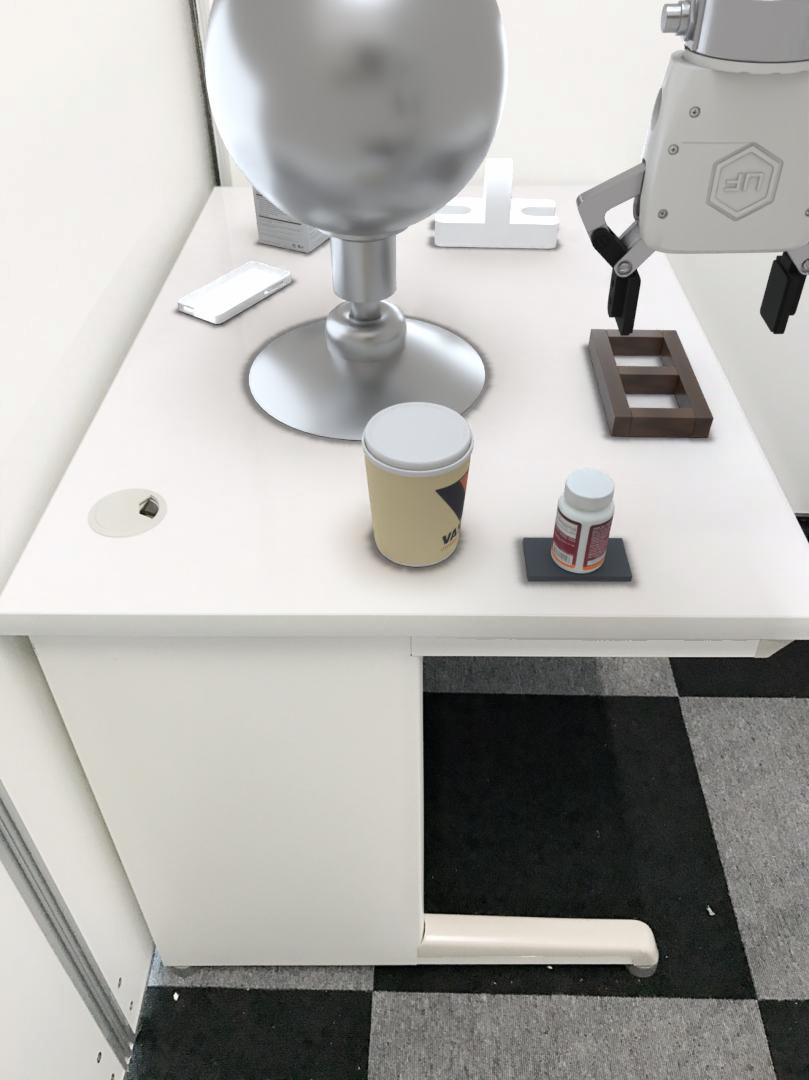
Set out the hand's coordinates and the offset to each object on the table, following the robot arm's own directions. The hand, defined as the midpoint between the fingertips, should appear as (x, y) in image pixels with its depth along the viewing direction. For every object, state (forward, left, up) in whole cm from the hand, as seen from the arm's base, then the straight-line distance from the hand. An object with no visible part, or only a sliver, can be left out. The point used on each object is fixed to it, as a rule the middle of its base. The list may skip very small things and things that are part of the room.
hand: (696, 325), depth 56 cm
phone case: (+59, -36, -26) cm, 74 cm away
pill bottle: (+5, -2, -25) cm, 26 cm away
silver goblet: (+35, -25, -26) cm, 50 cm away
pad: (+5, -2, -25) cm, 26 cm away
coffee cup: (+19, 0, -26) cm, 32 cm away
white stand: (+33, -68, -26) cm, 80 cm away
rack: (+5, -33, -25) cm, 42 cm away
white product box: (+60, -56, -26) cm, 86 cm away
